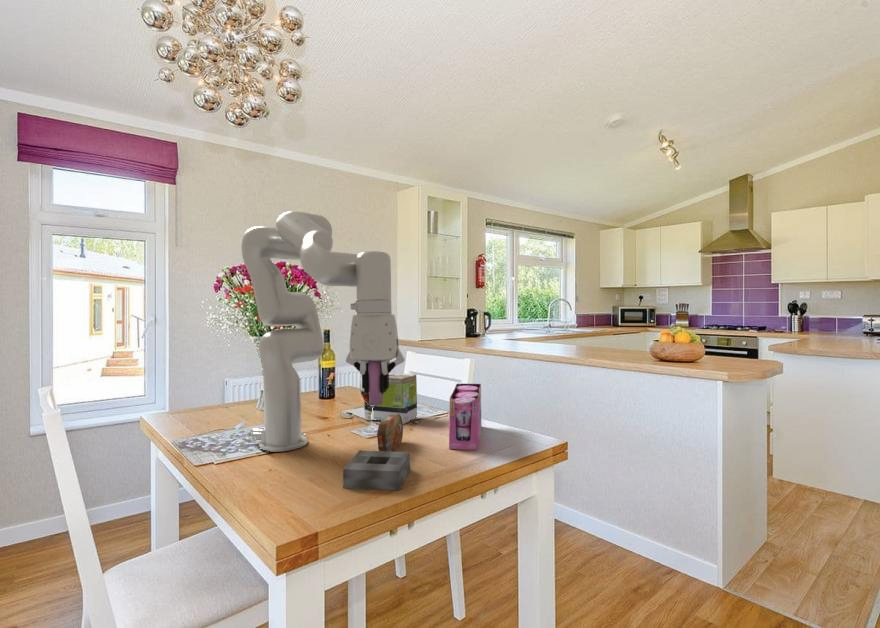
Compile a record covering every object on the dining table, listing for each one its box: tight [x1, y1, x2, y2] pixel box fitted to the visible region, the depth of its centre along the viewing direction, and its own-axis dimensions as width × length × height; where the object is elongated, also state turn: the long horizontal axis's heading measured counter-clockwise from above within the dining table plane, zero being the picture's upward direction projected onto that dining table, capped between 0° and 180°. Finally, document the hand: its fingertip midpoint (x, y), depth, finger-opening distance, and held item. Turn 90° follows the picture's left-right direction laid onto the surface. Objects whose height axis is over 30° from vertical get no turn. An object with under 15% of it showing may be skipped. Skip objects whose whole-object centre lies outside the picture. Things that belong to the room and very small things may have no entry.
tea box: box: [363, 372, 418, 425], centre depth 152 cm, size 15×10×15 cm, turn 66°
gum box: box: [448, 383, 482, 451], centre depth 130 cm, size 24×8×14 cm, turn 173°
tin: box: [376, 414, 404, 452], centre depth 121 cm, size 15×3×8 cm, turn 168°
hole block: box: [342, 449, 411, 491], centre depth 101 cm, size 12×12×4 cm
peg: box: [368, 361, 383, 405], centre depth 100 cm, size 3×3×10 cm
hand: (375, 391), depth 101 cm, fingers closed on peg, 3 cm apart
